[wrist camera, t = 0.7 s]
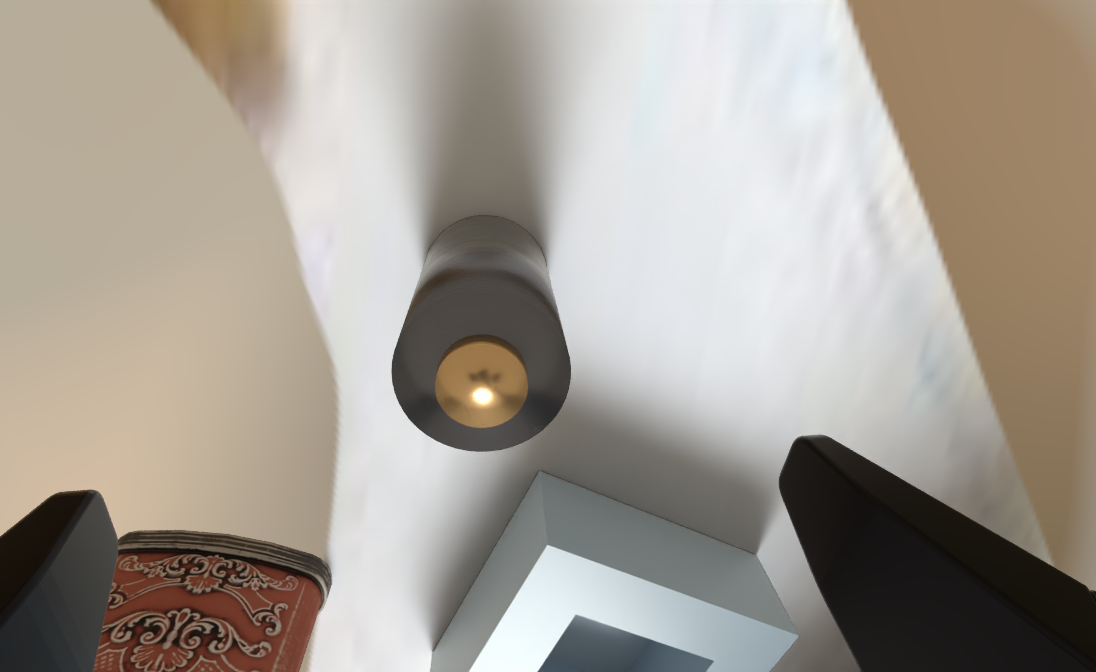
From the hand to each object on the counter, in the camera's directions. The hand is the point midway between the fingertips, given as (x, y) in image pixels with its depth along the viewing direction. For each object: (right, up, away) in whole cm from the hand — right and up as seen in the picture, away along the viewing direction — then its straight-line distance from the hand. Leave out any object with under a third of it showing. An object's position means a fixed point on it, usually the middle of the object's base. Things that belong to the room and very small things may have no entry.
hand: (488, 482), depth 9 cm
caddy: (+3, -9, +19) cm, 21 cm away
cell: (-1, +4, +13) cm, 14 cm away
